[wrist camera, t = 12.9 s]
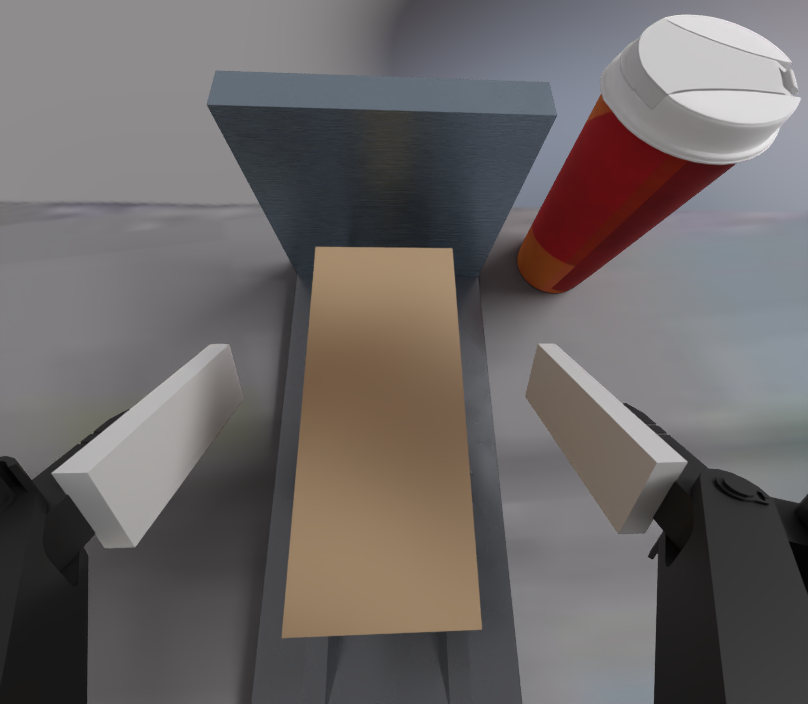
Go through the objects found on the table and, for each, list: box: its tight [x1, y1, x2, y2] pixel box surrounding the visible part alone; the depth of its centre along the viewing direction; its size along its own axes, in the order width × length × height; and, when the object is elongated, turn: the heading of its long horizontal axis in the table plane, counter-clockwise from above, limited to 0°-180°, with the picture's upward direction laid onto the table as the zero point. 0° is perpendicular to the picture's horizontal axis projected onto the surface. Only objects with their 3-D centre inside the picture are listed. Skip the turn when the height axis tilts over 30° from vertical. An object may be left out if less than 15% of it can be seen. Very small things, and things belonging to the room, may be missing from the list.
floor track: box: [207, 71, 557, 704], centre depth 15 cm, size 30×14×13 cm, turn 1°
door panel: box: [282, 247, 482, 638], centre depth 13 cm, size 8×4×14 cm, turn 1°
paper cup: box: [517, 15, 801, 293], centre depth 19 cm, size 8×8×14 cm
